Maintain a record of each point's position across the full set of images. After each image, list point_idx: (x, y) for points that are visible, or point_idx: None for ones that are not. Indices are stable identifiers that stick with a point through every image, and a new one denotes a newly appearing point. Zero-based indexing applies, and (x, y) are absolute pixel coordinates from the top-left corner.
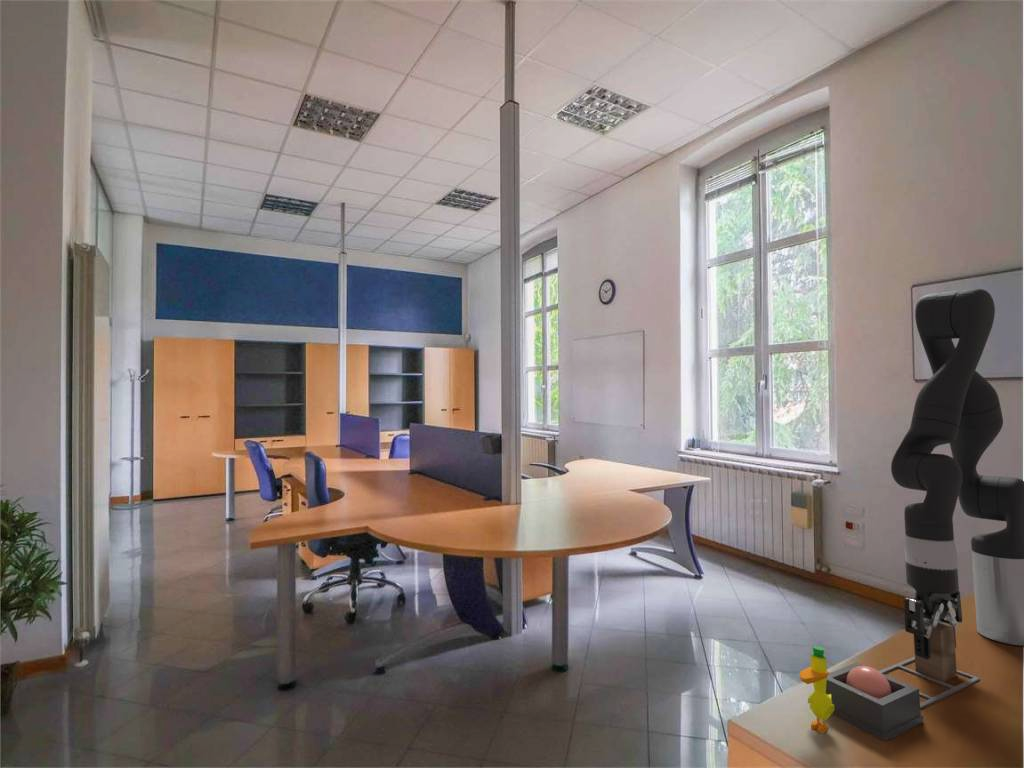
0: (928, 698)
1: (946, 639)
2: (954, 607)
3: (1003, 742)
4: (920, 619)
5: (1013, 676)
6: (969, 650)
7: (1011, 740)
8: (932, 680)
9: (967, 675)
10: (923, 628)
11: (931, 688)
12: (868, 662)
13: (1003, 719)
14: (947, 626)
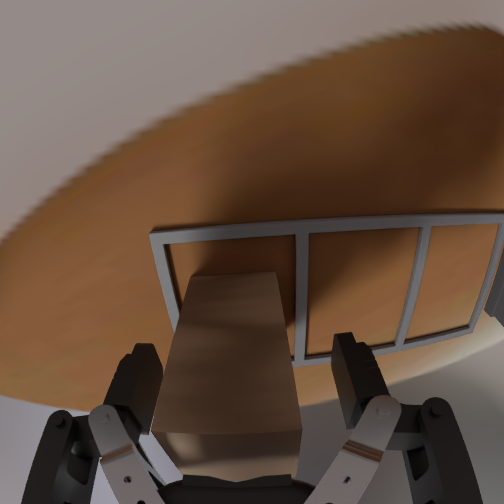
0: (429, 230)
1: (240, 381)
2: (65, 480)
3: (472, 44)
4: (467, 465)
5: (40, 207)
6: (34, 327)
7: (452, 32)
8: (307, 285)
9: (165, 261)
10: (433, 431)
11: (356, 261)
12: (335, 386)
13: (370, 64)
14: (206, 436)
